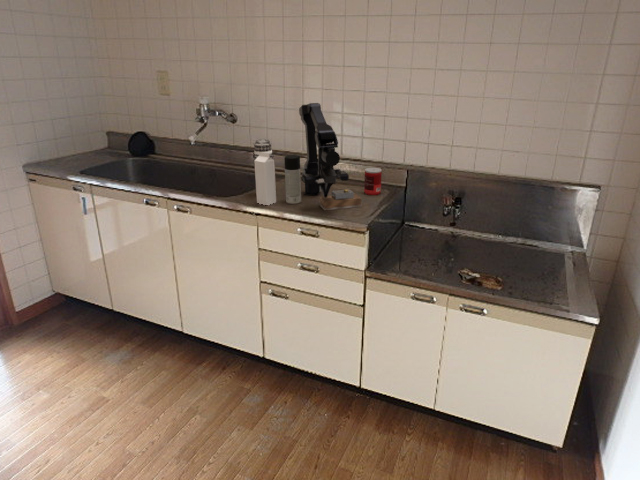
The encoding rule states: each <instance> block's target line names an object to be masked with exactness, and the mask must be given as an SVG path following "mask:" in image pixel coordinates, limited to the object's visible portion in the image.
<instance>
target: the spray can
mask: <svg viewBox="0 0 640 480" xmlns="http://www.w3.org/2000/svg"><path fill="white" fill-rule="evenodd" d="M284 180H285V181H284V183H285V186H284V187H285V201H286V203H287V204H291V205H292V204H293V205H296V204H300V203H301V202H302V189H301V188H302V186H301V185H302V183H301V182H302V175H301V156H300V155H297V154H289V155H285V157H284Z"/></svg>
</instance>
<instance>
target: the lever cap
mask: <svg viewBox="0 0 640 480" xmlns="http://www.w3.org/2000/svg"><path fill="white" fill-rule="evenodd" d="M354 194H355V193H354V191H353V190H351V189H349V188H347V189H345V188H344V189H341V190H339V189H338V190H332V191H331V196H332V197H333V198H334V199H335V200H342V199H351V198H354Z"/></svg>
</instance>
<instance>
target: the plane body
mask: <svg viewBox="0 0 640 480" xmlns="http://www.w3.org/2000/svg"><path fill="white" fill-rule="evenodd" d="M318 203H319V204H318V205H319V206H320V208H322V210H324V211H329V210H340V209H341V210H342V209H349V208H359V207H363V205H362V197H360V196H359V195H358V194H356V193H354V198H351V199H342V200H335V199H334V198H333V197H332V195H327V198H325V197H324V196H319V202H318Z"/></svg>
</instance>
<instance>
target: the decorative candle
mask: <svg viewBox="0 0 640 480" xmlns="http://www.w3.org/2000/svg"><path fill="white" fill-rule="evenodd" d="M253 145H254V147H253V148H254V150H253V151H254V152H252V154H253V155H252V158H253V161H254V160H255V159H256V158H257V157H258V156H259V152H263V153H269V157H270V158H272V159H274V157H275V156H274V155H273V150H272V145H273V144H272V141H270V140H269V139H267V138H259V139H258V138H257V139H256V140H255V142H254V143H253ZM253 166H254V170H255V163H254V162H253ZM254 182H255V183H256V179H255V181H254ZM256 196H257V194H256Z"/></svg>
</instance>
